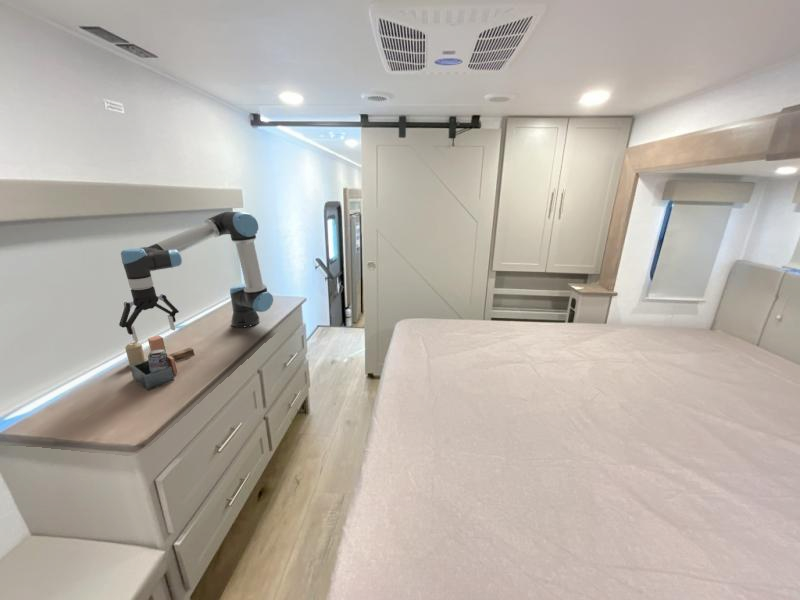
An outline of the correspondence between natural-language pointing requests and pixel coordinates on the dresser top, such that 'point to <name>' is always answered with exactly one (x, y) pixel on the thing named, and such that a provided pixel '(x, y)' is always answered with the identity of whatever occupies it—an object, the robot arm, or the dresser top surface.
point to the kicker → (158, 344)
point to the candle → (135, 353)
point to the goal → (151, 375)
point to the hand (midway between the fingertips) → (155, 334)
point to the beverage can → (157, 360)
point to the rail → (182, 354)
